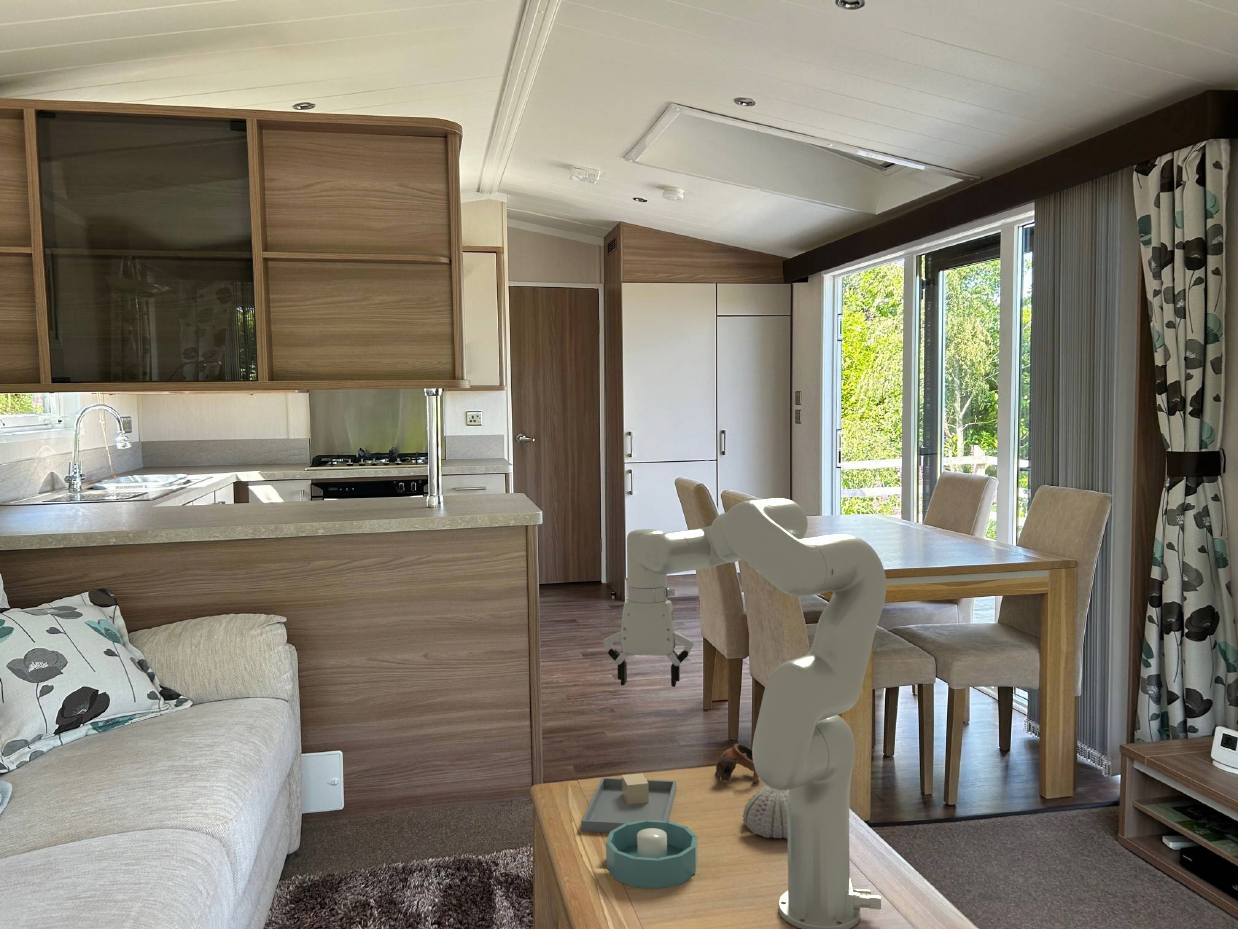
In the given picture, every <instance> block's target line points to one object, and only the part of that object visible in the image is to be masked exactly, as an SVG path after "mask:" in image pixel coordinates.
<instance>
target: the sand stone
mask: <svg viewBox="0 0 1238 929" xmlns="http://www.w3.org/2000/svg"><path fill="white" fill-rule="evenodd" d="M621 778H622V794H623V796H624V798H625V800H626V802H627V804H628V805H629V804H639V803H649V789H648V782H647V780H648V779H647V778H646V776H645V775H644V773H643V772H641V773H631V774H621ZM646 779H647V780H646Z"/></svg>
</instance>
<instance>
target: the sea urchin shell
mask: <svg viewBox="0 0 1238 929" xmlns="http://www.w3.org/2000/svg"><path fill="white" fill-rule="evenodd" d="M788 792H789V790H775V789H772V788H770V787H769V786H767V785H766V786H764V787H762V788H759V790H757V791H756V792H755V793H754V794H753V795H752V796H751V798H748V801H747V802H746V804H745V805H744V808H743V815H742V818H743V819H742V821H743V822H744V826H745V827H747V830H749V831H751V832H753V834H755V835H759V836H762V837H763V838H774V839H779V840H781V839H782V838H784V839H787V840H788V830H787V803H788Z"/></svg>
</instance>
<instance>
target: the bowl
mask: <svg viewBox="0 0 1238 929" xmlns="http://www.w3.org/2000/svg"><path fill="white" fill-rule="evenodd" d="M648 828H656V829H661V830H663V831H665V832H666V834H667V857H661V858H646V857H638V856H637V833H638V832H639V831H641V830H643V829H648ZM605 848H606V849H605V850H606V852H605V856H606V858H605V859H606V862H605V863H606V867H607V868H606V870H607V872H609V874H610V875H611V876H612V878H613V879H614V880H615V881H616V882H619V883H622V884H624V885H628V886H630V887H633V888H638V889H639V888H640V889H641V888H642V889H656V890H661V889H665V888H670V887H673V886H680V885H683V884H684V883H685V882H687V881H688V880H690V879H692V877H695V876H696V875H695V874H696V873H695V872H696V871H697V866H698V861H699V860H698V858H699V856H698V853H699V852H698V835H697V834H696V833H695V832H693V830H691V829H690V828H689V827H688V826H685V825H683V824H679V823H677V822H674V821H670V820H669V821H662V820H641V821H636V822H630V823H625V824H623V825H621V826H619V827H617V828H616V829H614V830H612V831H610V833H609V834H608V836H607V838H606V841H605Z"/></svg>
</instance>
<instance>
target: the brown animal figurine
mask: <svg viewBox="0 0 1238 929" xmlns="http://www.w3.org/2000/svg"><path fill="white" fill-rule="evenodd" d="M744 754H745V755H746V756H745V755H744ZM737 763H738V765H740V766H742V767H743V768H745V769H746V768H747V770H750V771H752V772H753V776H752V779H751V782H752V783H754V784H755V783H757V782H758V780H759V776H758V774H757V772H756V770H755V767H754V763H753V757H752V748H749V747H748V746H746V745H743V744H740V743H735V744H734V745H733V747H731V748H727V749H726V750H725V751H724V752H723V753H722V754H721V755H720V757H719V760H718V761H717V763H716V766H715V771H714V772H715V773H714V775H715V777H716V778H718V779H719V780H723V781H725V782H729V781H730V779H731V776H732V773H733V772H734V770H735V769H736V766H737Z"/></svg>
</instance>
